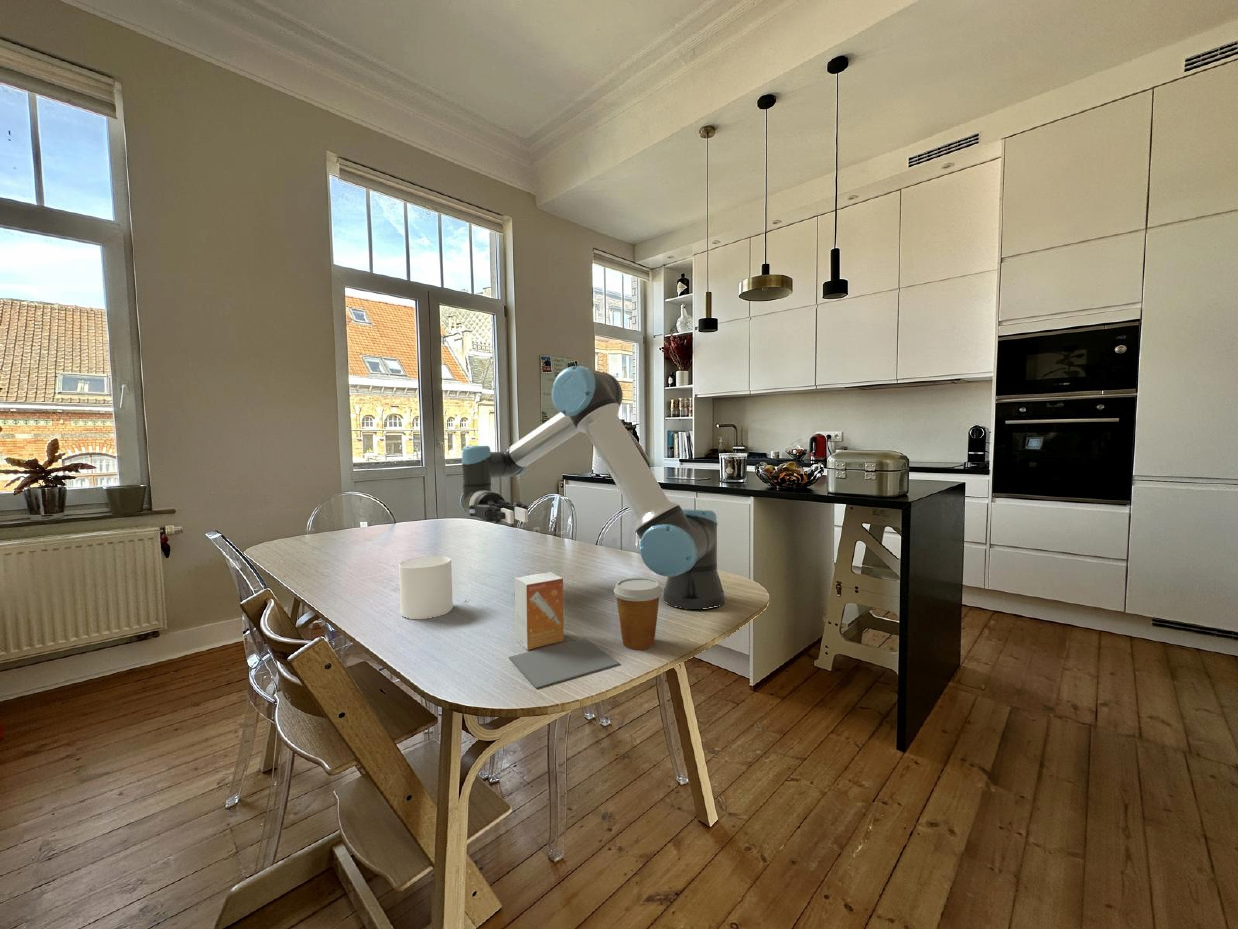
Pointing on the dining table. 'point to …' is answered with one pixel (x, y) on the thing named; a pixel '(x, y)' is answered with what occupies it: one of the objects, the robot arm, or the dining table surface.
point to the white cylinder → (425, 587)
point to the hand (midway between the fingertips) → (519, 516)
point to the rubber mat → (562, 662)
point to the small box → (539, 610)
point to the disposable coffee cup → (638, 611)
